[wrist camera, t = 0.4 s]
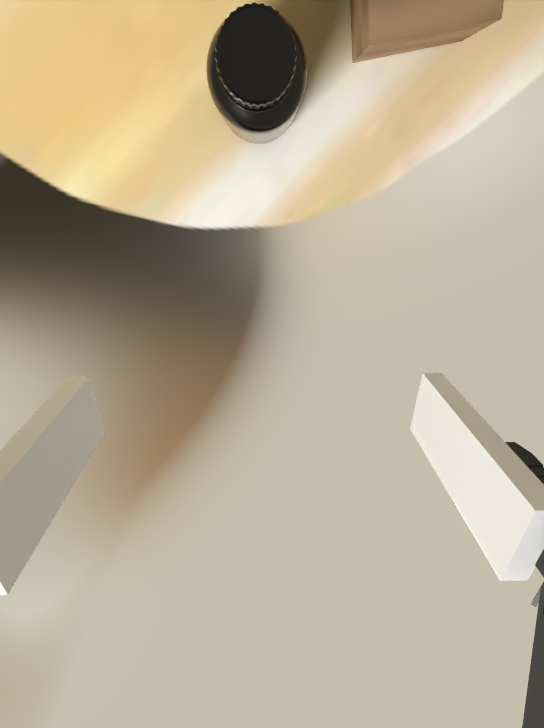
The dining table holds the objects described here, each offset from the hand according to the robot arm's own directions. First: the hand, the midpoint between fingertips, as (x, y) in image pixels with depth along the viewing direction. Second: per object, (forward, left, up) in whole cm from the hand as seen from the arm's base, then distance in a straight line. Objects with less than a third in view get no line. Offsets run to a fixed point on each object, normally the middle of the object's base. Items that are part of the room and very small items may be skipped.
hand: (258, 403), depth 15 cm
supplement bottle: (-14, 0, -27) cm, 30 cm away
